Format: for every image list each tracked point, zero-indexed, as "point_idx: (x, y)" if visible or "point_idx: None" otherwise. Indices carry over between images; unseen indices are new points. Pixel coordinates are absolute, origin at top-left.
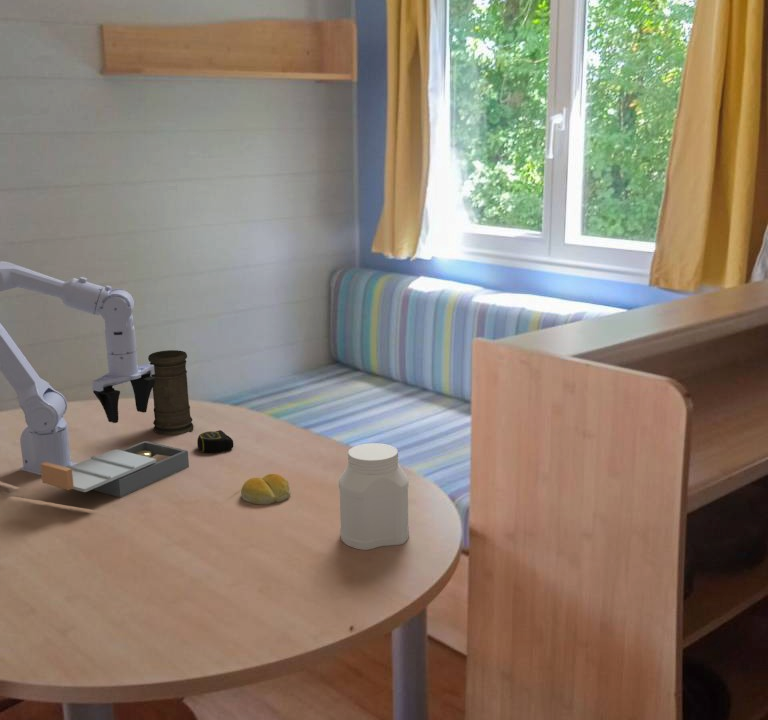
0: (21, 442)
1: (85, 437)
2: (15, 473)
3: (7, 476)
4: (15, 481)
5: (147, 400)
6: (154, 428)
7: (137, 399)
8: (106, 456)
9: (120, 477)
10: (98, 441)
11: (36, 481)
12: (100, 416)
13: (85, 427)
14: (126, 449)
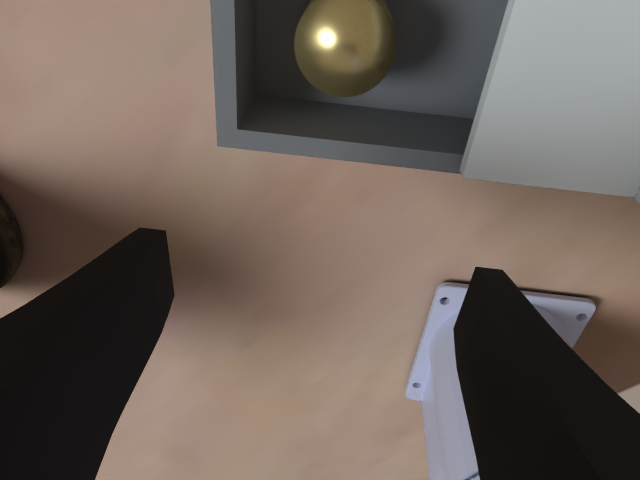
0: None
1: (203, 410)
2: None
3: None
4: (620, 372)
5: (75, 284)
6: (5, 277)
7: (127, 370)
8: (604, 139)
9: None
10: (204, 368)
11: (612, 324)
12: None
13: (146, 445)
14: (381, 149)
